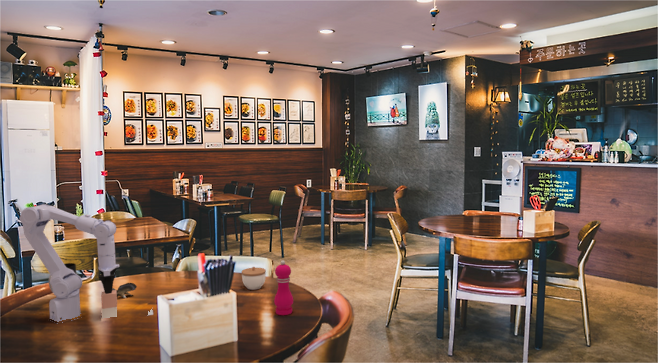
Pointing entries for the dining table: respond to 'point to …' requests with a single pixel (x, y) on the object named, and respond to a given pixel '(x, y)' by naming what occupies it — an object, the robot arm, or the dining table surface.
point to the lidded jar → (253, 277)
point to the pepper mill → (283, 290)
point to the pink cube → (109, 299)
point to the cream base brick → (109, 312)
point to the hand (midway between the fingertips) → (108, 290)
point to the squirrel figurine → (125, 289)
